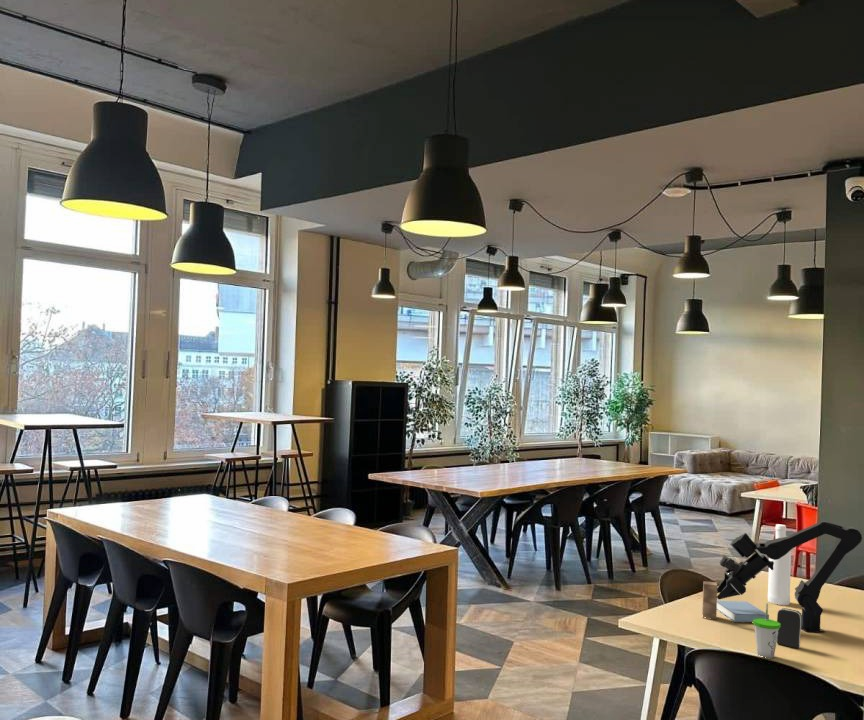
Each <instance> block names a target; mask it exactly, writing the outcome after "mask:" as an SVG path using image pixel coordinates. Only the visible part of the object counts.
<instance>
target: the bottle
mask: <svg viewBox="0 0 864 720" xmlns="http://www.w3.org/2000/svg"><path fill="white" fill-rule="evenodd" d="M774 529H775V538H774V539H777V538H784V537H787V535H786V534H787V525H785V524H779V523H778V524H777V523H776V524H775V528H774ZM768 560H769V561H773V562H774V565H773V570H771V569H770V568H769V567H768V581H767V582H768V584H767V588H768V589H767V602H768V603H769V602H770V603H769V604H772V603H773V605H776V604H778V605H777V606H789V605H790V601H791V573H792V572H791V571H792V570H791V568H792V562H791V561H792V551H791V550H790V551H789V552H788V553H787V554H786V555H784V556H783V557H781V558H780V559H777V560H773V559H770V558H769V557H768Z"/></svg>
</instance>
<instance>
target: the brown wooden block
mask: <svg viewBox="0 0 864 720" xmlns="http://www.w3.org/2000/svg"><path fill="white" fill-rule="evenodd" d="M702 585H703V586H702V611H701V613H702V615H703V617H706V618H711V619H710V620H713V619H716V620H717V611H718V610H717V601H718V598H717V596H718V593H717V588H718V582H716V581H715V582H713V581H704V580H703V583H702ZM702 615H701V616H702ZM703 617H702V618H703Z"/></svg>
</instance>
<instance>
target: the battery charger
mask: <svg viewBox="0 0 864 720" xmlns="http://www.w3.org/2000/svg"><path fill="white" fill-rule="evenodd" d="M776 621H777V622H779V623H780V624H781V627H780V628H779V631H778V637H777V643H776V645H781V646H784V647H789V648H794V649H800V647H801V632H802V631H801V630H802V629H801V628H802V612H800V611H799V610H796V609H791V608H784V607H783V608H780V609H778V611H777V616H776Z"/></svg>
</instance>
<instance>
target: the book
mask: <svg viewBox="0 0 864 720" xmlns="http://www.w3.org/2000/svg"><path fill="white" fill-rule="evenodd" d="M718 610H719V611H720V612H719V611H718ZM717 611H718V612H719V613H721V614H722V613H723V614H722V615H724V616H725V615H726V616H727V617H726V616H725V617H726V618H728V617H729V618H730V619H729V618H728V619H729V620H731V619H732V620H733V621H732V620H731V621H732V622H733V623H735V622H753V620H754V619H757V618H763V619H766V611H765V612H764V611H763V610H761V609H760V608H759V607H757V606H755V605H753V604H751V603H750V602H748V601H743V600H742V601H741V600H738V601H737V600H717ZM768 619H770V615H769V614H768Z"/></svg>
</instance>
